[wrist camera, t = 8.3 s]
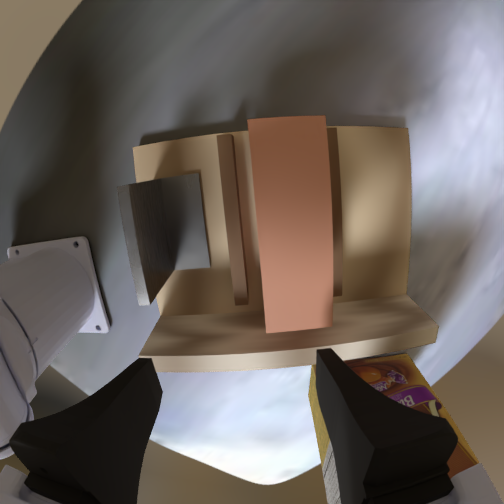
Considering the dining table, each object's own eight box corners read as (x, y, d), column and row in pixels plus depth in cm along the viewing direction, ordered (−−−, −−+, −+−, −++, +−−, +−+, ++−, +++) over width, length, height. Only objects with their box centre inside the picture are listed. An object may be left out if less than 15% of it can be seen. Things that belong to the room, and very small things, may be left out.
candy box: (408, 347, 23) (495, 481, 8) (397, 385, 24) (462, 514, 10) (310, 356, 23) (352, 533, 8) (305, 395, 24) (333, 554, 10)
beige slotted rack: (167, 323, 22) (143, 371, 17) (138, 147, 19) (95, 144, 13) (399, 302, 22) (435, 342, 16) (401, 129, 18) (449, 121, 12)
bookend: (167, 269, 20) (139, 305, 15) (153, 179, 18) (117, 186, 13) (210, 265, 20) (195, 302, 15) (199, 172, 18) (177, 177, 13)
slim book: (262, 276, 20) (266, 333, 13) (250, 135, 17) (247, 119, 11) (308, 272, 20) (332, 326, 13) (299, 132, 17) (325, 115, 11)
